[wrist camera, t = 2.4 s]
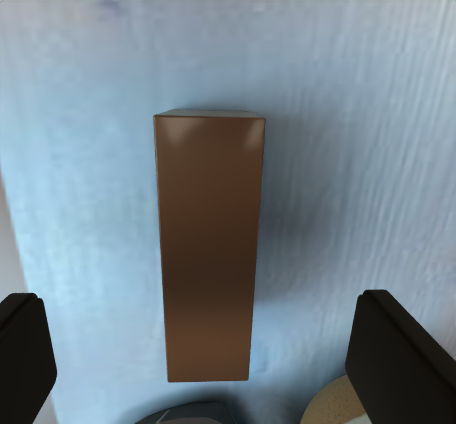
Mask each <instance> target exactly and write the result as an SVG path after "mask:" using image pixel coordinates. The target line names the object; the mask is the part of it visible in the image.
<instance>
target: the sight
mask: <svg viewBox="0 0 456 424" xmlns="http://www.w3.org/2000/svg"><path fill="white" fill-rule="evenodd" d="M135 424H236V423H235V421H234V419H233V417H232V415H231V413H230V411H229V409H228V408H227V407H226V406H225V405H223V404H220V403H215V402H212V403H192V404H188V405H183V406H178V407H174V408H170V409H167V410H164V411H161V412H158V413H155V414H152V415H150V416H148V417H146V418H144V419H143V420H141V421H139V422H137V423H135Z"/></svg>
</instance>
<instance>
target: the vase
mask: <svg viewBox="0 0 456 424" xmlns="http://www.w3.org/2000/svg"><path fill="white" fill-rule="evenodd" d="M300 424H372V423H371V421H370V419H369V418H368V416H367V414H366V412H365V410H364V408H363V406H362V404H361V402H360V400H359V398H358V396H357V394H356V392H355V390H354V388H353V386H352V384H351V382H350V380H349V378H348V376H347V374H346V375H344V376H341V377H339V378H337V379H336V380H334V381H332V382H331V383H329V384H328V385H326V386H325V387H323V388H322V389H321V390H320V391H319V392H318V393H317V394H316V395H315V396H314V397H313V399H312V400H311V401H310V403H309V405H308V406H307V408H306V410H305V412H304V414H303V417H302V419H301V422H300Z"/></svg>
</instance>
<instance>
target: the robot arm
mask: <svg viewBox="0 0 456 424" xmlns="http://www.w3.org/2000/svg"><path fill="white" fill-rule="evenodd" d="M345 369H346V373H347V376H348V378H349V380H350V382H351V384H352V386H353V388H354V390H355V392H356V394H357V396H358V398H359V400H360V402H361V404H362V406H363V408H364V410H365V412H366V414H367V416H368V418H369V419H370V421H371V423H372V424H456V361H455V360H454V359H453V358H452V357H451V356H450V355H449V354H448V353H447V352H446V351H445V350H444V349H443V348H442V347H441V346H440V345H439V344H438V343H437V342H436V341H435V340H434V339H433V338H432V337H431V335H430V334H429V333H428V332H427V331H426V330H425V329H424V328H423V327H422V326H421V325H420V324H419V323H418V322H417V321H416V320H415V319H414V318H413V317H412V316H411V315H410V314H409V313H408V312H407V311H406V310H405V309H404V307H403V306H402V305H401V304H400V303H399V302H398V301H397V300H396V299H395V298H394V297H393V296H392V295H391V294H390V293H389V292H388V291H387V290H365V291H364V292H363V295H359V296H358V299H357V304H356V310H355V315H354V320H353V325H352V331H351V336H350V341H349V346H348V352H347V357H346V362H345ZM56 377H57V368H56V363H55V358H54V353H53V348H52V343H51V337H50V332H49V327H48V322H47V317H46V312H45V307H44V302H43V300H42V299H41V298H38V297H37V295H36V294H34V293H12V294H10V295H8V296H7V297H6V298H5V299H4V300H3V301H2V302H1V303H0V424H33V422H34V420H35V418H36V416H37V415H38V413H39V411H40V409H41V407H42V406H43V404H44V402H45V400H46V398H47V397H48V395H49V393H50V391H51V390H52V388H53V386H54V384H55V381H56Z"/></svg>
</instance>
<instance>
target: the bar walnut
mask: <svg viewBox="0 0 456 424" xmlns="http://www.w3.org/2000/svg"><path fill="white" fill-rule="evenodd" d="M153 121H154V139H155V157H156V176H157V194H158V213H159V231H160V250H161V268H162V286H163V305H164V323H165V342H166V360H167V379H168V382H207V381H247V380H248V378H249V363H250V349H251V334H252V319H253V304H254V289H255V274H256V259H257V244H258V229H259V214H260V199H261V184H262V169H263V154H264V139H265V124H266V119H265V118H264V117H261V116H258V115H256V114H253V113H250V112H247V111H219V110H181V109H173V110H169V111H166V112H163V113H159V114H156V115H154V116H153Z"/></svg>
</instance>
